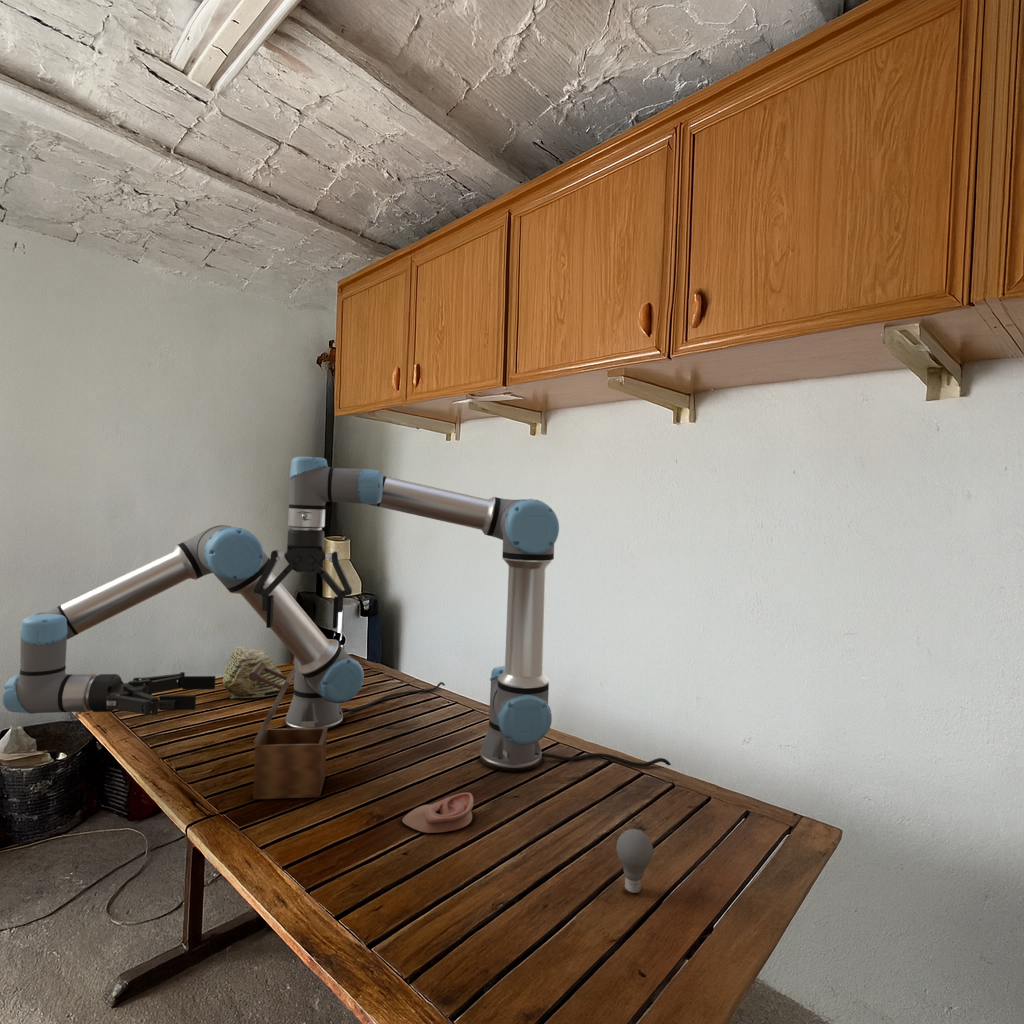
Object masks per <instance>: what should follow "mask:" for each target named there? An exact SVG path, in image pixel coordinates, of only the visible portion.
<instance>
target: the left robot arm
mask: <svg viewBox="0 0 1024 1024" xmlns="http://www.w3.org/2000/svg"><path fill="white" fill-rule="evenodd" d="M269 562H270V557H269V556H268V555H267V554H266V553H265V551H264V547H263V545H262V543H261V541H260V540H259V539H258V537H257V536H256V535H254V533H252V532H251V531H249V530H247V529H245V528H242V527H236V526H230V525H225V524H220V525H213V526H210V527H209V528H207V529H205V530H202V531H201V532H199V533H197V534H196V535H194V536H191V537H190V538H187V539H186V540H184V541H182V542H180V543H177V544H175V546H174V549H173V550H172V551H171V552H168V553H166V554H165V555H163V556H160V557H159V558H157V559H154V560H152V561H150V562H148V563H146V564H143V565H141V566H139V567H136V568H135V569H133V570H131V571H129V572H127V573H124V574H123V575H121V576H118V577H116V578H114V579H112V580H110V581H108V582H105V583H103V584H101V585H100V586H98V587H95V588H93V589H91V590H89V591H87V592H85V593H83V594H81V595H78V596H77V597H74V598H72V599H70V600H69V601H66V602H63V603H62V604H60V605H57V606H55V607H53V608H51V609H49V610H46V611H41V612H37V613H34V614H33V615H30V616H27V617H24V619H22V622H21V628H20V632H19V633H20V635H19V639H20V648H19V649H20V652H19V654H20V660H19V661H20V666H19V667H20V669H19V673H18V674H15V675H13V676H11V677H10V678H9V679H8V680H7V681H6V683H5V685H4V691H3V692H2V699H1V700H2V704H3V706H4V707H3V708H4V709H6V711H8V712H11V713H19V714H30V715H32V714H34V715H35V714H48V713H49V714H51V713H52V714H53V713H75V714H76V715H78V716H79V715H81V714H82V713H90V712H93V713H111V712H113V711H116V710H117V711H123V712H129V713H135V714H140V715H151V716H157V715H159V711H194V710H195V709H196V704H197V694H175V695H174V694H173V695H170V694H169V695H167V694H166V695H160V696H159V697H157V696H155V695H153V694H157V693H162V692H168V691H173V690H178V689H182V690H215V689H216V675H185V673H186V672H184V671H181V672H180V673H172V674H163V675H155V676H154V675H153V676H145V677H133V678H132V680H130V681H128V682H124V681H123V680H122V677H121V676H120V675H119V674H117V673H100V674H96V673H72V674H69V673H66V669H67V667H66V666H67V665H66V664H67V663H66V660H67V643H68V642H67V641H68V640H70V639H72V638H73V637H76V636H78V635H79V634H82V633H83V632H84V631H87V630H89V629H91V628H93V627H96V626H97V625H100V624H101V623H103V622H106V621H107V620H110V619H111V618H113V617H115V616H117V615H119V614H121V613H123V612H125V611H127V610H129V609H131V608H133V607H135V606H137V605H139V604H141V603H143V602H145V601H147V600H149V599H151V598H153V597H155V596H158V595H159V594H162V593H163V592H165V591H168V590H169V589H172V588H173V587H175V586H178V585H179V584H181V583H183V582H185V581H187V580H195V581H196V580H198V579H200V578H202V577H205V576H207V575H211V574H213V575H214V576H215V577H216V579H217V580H218V581H220V583H221V584H222V585H223V586H224V588H225V589H226V590H227V591H228V592H229V593H230V594H240V595H241V596H242V598H243V599H244V600H245V601H246V603H248V604H249V606H250V607H251V608H252V609H253V611H255V613H256V614H257V615H258V616H259V617H260V618H261V619H262V620H263V622H264V623H265V624H266V625H267V611H263V610H262V596H261V595H260V594H256V593H254V592H253V590H254V588H255V586H256V584H257V583H258V581H259V579H260V577H261V576H262V574H263V572H264V570H265V569H266V567H267V565H268V563H269ZM276 578H277V576H276V575H275V574H274V572H272V573H271V574H270V576H269V578H268V580H267V581H266V583H265V585H264V587H263V588H264V589H266V588H267V587H268V586H269V585H270V584H271V583H272V582H273V581H274V580H275V579H276ZM270 595H274V603H273V625H272V626H271V627H270V628H269V629H270V630H271V631H272V632H273V633H274V634H275V636H276V637H277V638H278V639H279V640H280V641H281V642H282V643H283V645H284V646H285V647H286V648H287V649H288V650H289V652H290V653H291V654H292V655H293V656H294V669H295V670H297V671H296V673H295V675H294V677H293V695H292V696H293V697H292V699H291V702H290V704H289V708H288V711H287V713H286V715H285V726H286V728H287V729H296V728H327V731H329V730H332V729H335V728H337V727H339V726H340V725H342V723H343V722H344V714H343V712H356V711H360V710H362V709H366V708H367V707H370V706H372V705H375V704H378V702H381V701H383V700H385V699H387V698H391V697H395V696H400V695H408V694H409V695H410V694H415V693H416V694H417V693H426V692H432V691H435V690H437V689H439V687H440V686H441V685H442V686H446V684H445V682H443V681H440V682H439V683H438V684H437V685H436V686H435V687H432V688H427V689H426V688H424V689H414V690H406V691H400V692H395V693H390V694H386V695H383V696H382V697H379V698H378V699H376V700H374V701H371V702H368V703H366V704H364V705H361V706H358V707H353V708H347V707H342V706H341V704H344V703H347V702H349V701H350V700H352V699H353V698H355V697H356V696H357V694H359V692H360V690H361V689H362V687H363V684H364V679H365V673H364V669H363V667H362V665H361V664H360V662H359V661H358V660H356V659H354V658H352V657H351V656H350V655H349V654H348V653H347V651H346V650H345V649H344V648H343V646H342V645H341V644H340V642H339V640H337V639H334V638H327V637H326V635H325V634H324V633H323V631H321V629H320V628H319V627H318V626H317V625H316V624H315V622H314V621H313V620H312V618H311V617H310V616H309V615H308V614H307V612H306V611H305V610H304V608H302V606H301V605H300V604H299V603H298V602H297V600H296V599H295V598H294V597H293V595H291V593H290V592H289V591H288V590H287V588H286V587H285V586H284V585H283V584H282V581H281V582H280V584H279V585H278V586H277V587H276V588H275V589H274V590H273V591H272V592H271V593H270Z"/></svg>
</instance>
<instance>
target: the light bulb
mask: <svg viewBox="0 0 1024 1024" xmlns="http://www.w3.org/2000/svg"><path fill="white" fill-rule="evenodd" d="M615 849H616V854H617V857H618V859H619V861H620V863H621V865H622V867H623V873H624V874H623V875H624V876H625V878H624V888H625V890H627V891H628V892H630V893H634V894H635V893H639V892H640V891H641V889H642V887H641V886H642V879H643V877H644V875H645V871H646V868H647V867H648V866H649V864H650V863H651V861H652V859H653V855H654V847H653V843H652V841H651V838H649V836H648V835H647V834H646V833H645V832H643V831H642V830H641V829H636V828H629V829H627V830H625V831H623V832H622V833H621V834H620V835H619V837H618V839H617V841H616V847H615Z"/></svg>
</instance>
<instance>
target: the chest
mask: <svg viewBox="0 0 1024 1024" xmlns="http://www.w3.org/2000/svg"><path fill="white" fill-rule="evenodd" d="M327 739H328V730H327V728H296V729H289V728H266V730H265V732H264V734H263V735H262V737H261V739H260V740H259V742H258V744H255V746H254V770H253V791H252V799H253V800H275V799H277V800H278V799H304V798H306V799H307V798H320V797H321V793H322V790H323V787H324V782H325V779H326V770H327V769H326V765H327V743H328V742H327Z"/></svg>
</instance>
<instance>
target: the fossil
mask: <svg viewBox="0 0 1024 1024" xmlns="http://www.w3.org/2000/svg"><path fill="white" fill-rule="evenodd" d="M259 663H264V664H265V665H266V668H269V669H271V670H273V671H275V672H278V673H280V674H282V675H283V673H282V672H281V669H279V668H278V667H277V665H276V663H275V662H274V660H273V659H272V658H271V657H270V656H269V655H268V654H267V653H266V652H265V650H264V649H263V648H260V647H258V648H251V647H247V646H246V647H245V646H238V647H237V648H236V649H235V650H233V651H232V653H231V656H230V657H229V659H228V660H227V663H226V666H225V668H224V671H223V675H222V676H223V677H222V685H223V687H224V688H225V690H226V691H228V693H229V698H230V699H250V698H264V697H271V696H275V695H278V694H279V692H280V689H277V688H275V687H273V686H270V685H268V684H266V683H264V682H261V681H259V680H256V681H251V680H250V679H249V674H250V673H251V672H252V671H253V670H254V668H255V667H256V666H257V665H258V664H259ZM260 676H261V677H263V678H265V679H268V680H270V681H272V682H274V683H277V684H279V685H281V686H283V684H284V682H285V681H286V680H284V679H281V678H279V677H277V676H274V675H272V674H270V673H268V672H265V671H263V673H262V674H261V675H260Z"/></svg>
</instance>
